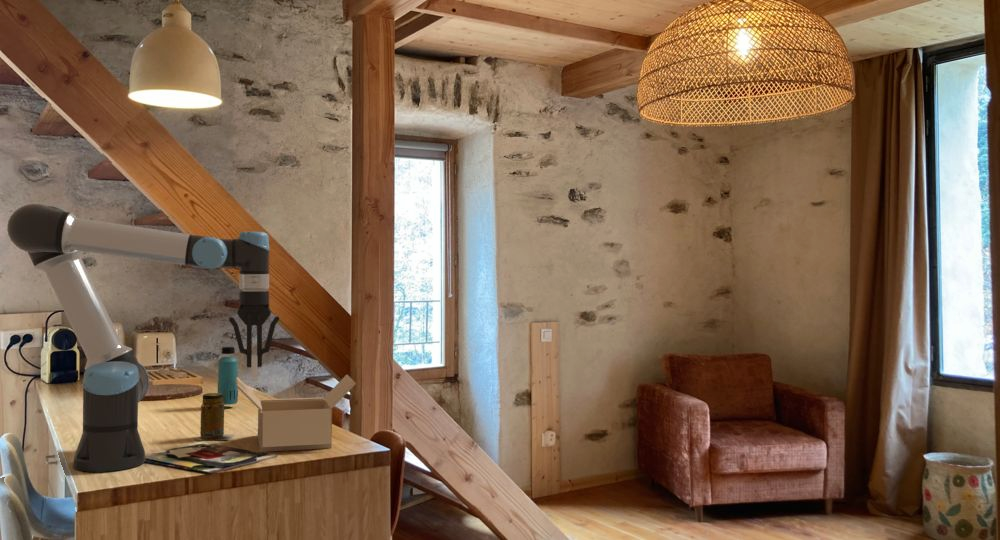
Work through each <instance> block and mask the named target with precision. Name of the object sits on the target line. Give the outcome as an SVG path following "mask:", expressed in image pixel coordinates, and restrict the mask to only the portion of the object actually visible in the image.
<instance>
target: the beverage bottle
mask: <svg viewBox="0 0 1000 540" xmlns="http://www.w3.org/2000/svg"><path fill="white" fill-rule="evenodd" d="M235 350H236V349H235V347H233V346H223V347H221V354H222V355H234V354H236V351H235ZM217 364H218V365H217V393H221V394H223V404H224V406H228V405H236V404H237V403H238V397H239V389H238V388H237V387H236V377H238V378H239V360H238V359H237V358H236V357H235V356H221V357H220V359H218V361H217Z"/></svg>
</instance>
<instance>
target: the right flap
mask: <svg viewBox="0 0 1000 540" xmlns="http://www.w3.org/2000/svg"><path fill="white" fill-rule="evenodd" d="M356 384H357V383H356V382H355V381H354V380H353V378H351V377H350V376H349V374H346V375H344V377H343V378H341V380H340V381H339V382H338V383H336V385H335V386H334V387H333V388H331V389H330V391H329V392H327V394H326V395H325V396H324V397H323V400H324V399H325V400H326V402H327V403H328V405H329V406H330V408H331V409H332V410H333V408H334V407H335V406H336V405H337V404H338V403H339V402H340V401H341V400H342V399H343V398H344V397H345V396H346V395H347V394H348V393H349V392H350V391H351V389H353V387H354V386H356Z"/></svg>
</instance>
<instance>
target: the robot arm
mask: <svg viewBox="0 0 1000 540" xmlns="http://www.w3.org/2000/svg"><path fill="white" fill-rule="evenodd" d="M6 230H7V234H8V237H9V239H10V241H11V243H13V245H15V246H16V247H17V248H19V249H20V250H22V251H24V252H27V254H28V256H29V258H30V261H31V263H32V264H33V267H34V268H35V269H37V270H40V271H43V272H44V273H45V275H46V277H47V278H48V280H49V283H50V285H51V287H52V289H53V291H54V294H55V296H56V297H57V299H58V301H59V303H60V306H61V308H62V310H63V312H64V314H65V316H66V318H67V320H68V323H69V324H70V326H71V328H72V329H73V332H74V335H75V336H76V338H77V340H78V342H79V345H80V347H81V348H82V350H83V353H84V355H85V356H86V359H87V362H86V364H85V366H84V373H83V378H82V387H83V392H82V394H83V396H82V397H83V398H82V433H81V437H80V440H79V442H78V444H77V447H76V450H75V454H74V455H73V463H72V464H73V469H75V470H77V471H80V472H81V471H82V472H91V473H101V472H102V473H104V472H115V471H121V470H129V469H132V468H136V467H138V466H141V465H143V464H144V463H145V462H146V451H145V448H144V444H143V441H142V439H141V436H140V433H139V428H138V426H139V425H138V423H139V422H138V421H139V420H138V419H139V418H138V417H139V403H140V402H141V401H142V400H143V399H144V398H145V396H146V394H147V392H148V391H149V390H148V389H149V386H150V377H149V374H148V371H147V369H146V368H145V367H144V365H142V364H141V363H140V362H139V361H138V359H137V355H136V354H135V353H134V350H133V348H132V347H129V346H127V345H124V344H123V342H122V340H121V338H120V337H119V334H118V332H117V329H116V328H115V326H114V324H113V323H114V322H112V320H111V318H110V315H109V313H108V311H107V308H106V307H105V305H104V303H103V300H102V299H101V297H100V294H99V292H98V290H97V289H96V286H95V283H94V282H93V280H92V278H91V276H90V273H89V271H88V269H87V267H86V265H85V263H84V261H83V259H82V258H83V254H84V253H93V254H100V255H109V256H115V257H123V258H130V259H137V260H146V261H151V262H152V261H154V262H160V263H161V262H162V263H169V264H178V265H184V266H190V267H193V268H197V269H198V268H201V269H206V270H214V269H219V268H220V269H223V268H225V269H229V268H230V269H231V268H233V269H235V268H239V271H238V273H239V275H238V277H239V278H238V279H239V280H238V282H239V284H238V285H239V287H238V288H239V290H240V291H239V293H238V294H239V296H238V298H239V301H238V302H239V305H238V309H237V313H236V314H234V315H232V316H229V318H228V321H229V323H230V324H231V326H232V327H233V331H234V335H235V338H236V343H237V346H238V351H239V353H240V354H244V355H245V356H246V368H250V369H251V371H250V376H251V377H250V379H251V381H258V368H261V367H262V366H263V355H264V354H266V353H269V351H270V348H271V343H272V340H273V336H274V333H275V328H276V325H277V324H278V322H279V321H280V317H279V316H278V315H276V314H274V313H272V310H271V308H270V292H269V291H268V290H269V289H270V241H269V238H270V237H269V234H268V233H266V232H264V231H241V232H239V235H238V238H234V239H231V238H229V239H228V238H225V239H224V238H218V237H213V236H205V235H204V236H203V235H196V234H189V233H181V232H176V231H169V230H161V229H155V228H148V227H147V228H146V227H141V226H134V225H127V224H123V223H122V224H120V223H113V222H106V221H101V220H94V219H93V220H92V219H87V218H80V217H76V215H75V214H74V213H73V212H68V211H65V210H63V209H62V208H60V207H57V206H53V205H45V204H40V203H30V204H26V205H23V206H20V207H19V208H17V209H16V210H14V211H13V213H12V214H11V216H9V218H8V221H7V229H6ZM239 318H240V319H241V321H242V322H243V324H245V326H246V348H245V347H244V343H243V339H242V336H241V331H240V327H239V324H238V323H239V322H240V319H239ZM268 318H269V321H270V324H269V328H268V330H267V331H268V332H267V336H266V339H265V343H264V347H263V325H264V324H265V323H266V321H267V319H268ZM253 326H256V354H253V352H252V351H253V349H252V348H253V347H252V345H253V344H252V343H253V341H252V340H253V339H252V337H253V336H252V335H253V332H252V328H253Z"/></svg>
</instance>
